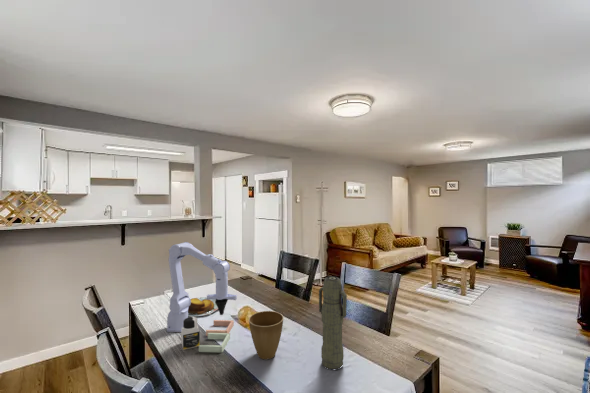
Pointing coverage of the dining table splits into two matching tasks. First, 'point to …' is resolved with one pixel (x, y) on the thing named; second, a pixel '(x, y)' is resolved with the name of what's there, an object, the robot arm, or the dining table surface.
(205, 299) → the food on plate
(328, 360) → the thermos
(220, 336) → the sage bay
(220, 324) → the terracotta bay
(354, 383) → the dining table surface
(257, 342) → the plant pot
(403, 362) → the dining table surface
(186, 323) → the medicine bottle
